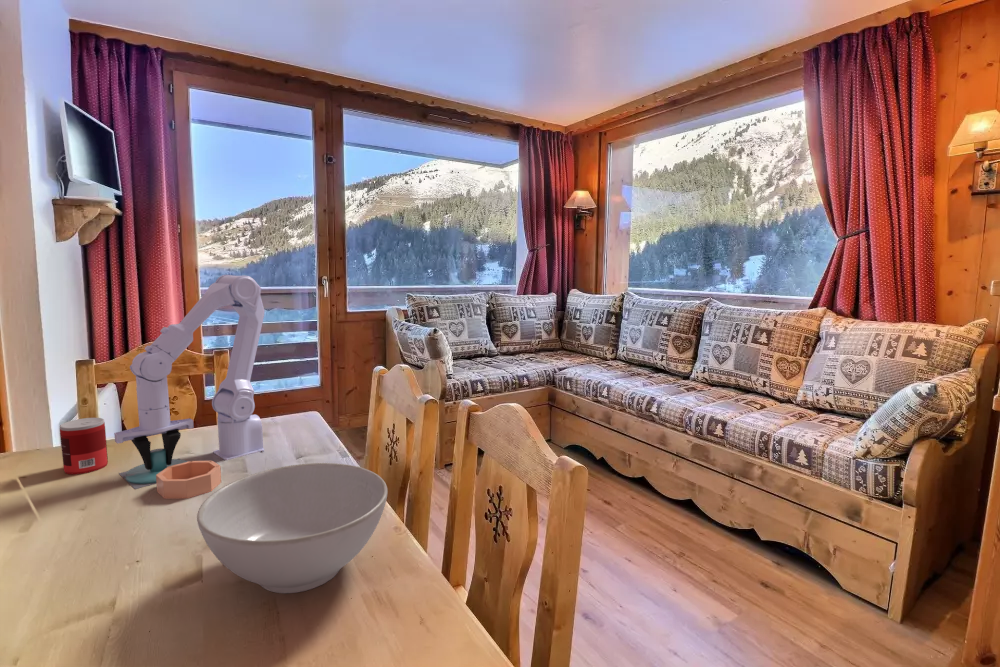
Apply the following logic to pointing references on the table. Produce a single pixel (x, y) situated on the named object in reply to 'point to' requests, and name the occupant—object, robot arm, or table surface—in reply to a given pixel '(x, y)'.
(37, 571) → the table surface
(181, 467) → the ramekin
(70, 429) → the canned food
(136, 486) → the mat
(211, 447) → the table surface
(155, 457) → the lid
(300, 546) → the decorative bowl
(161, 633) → the table surface
